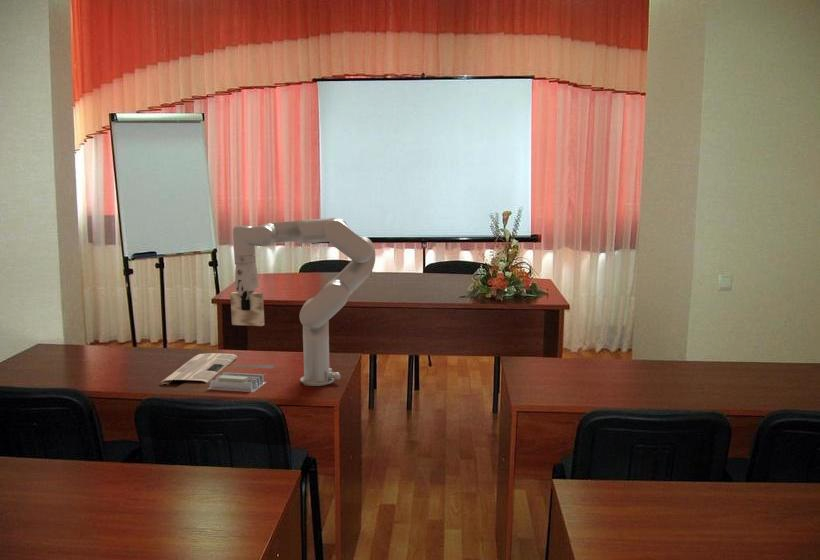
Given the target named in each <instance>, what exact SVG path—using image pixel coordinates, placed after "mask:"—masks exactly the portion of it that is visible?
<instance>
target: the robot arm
mask: <svg viewBox="0 0 820 560" xmlns="http://www.w3.org/2000/svg"><path fill="white" fill-rule="evenodd" d="M232 235H233V236H232V239H233V254H234V255H233V256H234V257H233V259H234V265H235V273H234V274H235V276H234V278H235V281H234V283H235V290H236V292H238V295H239V296H240V299H241V309H242V310H250V299H249V294H248V292H252V293H255V292H254V291H255V290H257V289H258V287H259V278H258V277H259V276H258V270H257V261H256V247H264V248H265V247H269V246H270V245H271V244H275V243H285V242H286V243H288V242H292V243H299V244H307V245H308V244H314V243H315V244H319V243H328V242H329V244H331V245H332V246H333V247H334V248H335V249H337V250H338V251H340V252H341V253H343V254H344V256H346V257H348V258H349V259H350V261H349V263H348V264H347V265H346V266H345V267H344V268H343V269H342V270H341V271H340V272H339V273H338V274H336V276H334V277H333V278H332V279H330V280H329V281H328V282H327V283H326V284H325V285H324V287H323V288H322V289H321V290H320V291H319V292H318V293H317V294H316V295H315V296H314V297H311V298H309V299H307V300H306V301H305V302H304V303H303V305H302V307H301V309H300V311H299V321H300V323H301V325H302V347H303V348H302V349H303V376H301V377H300V378H299V379H300V381H299V382H300V384H302V385H304V386H309V387H322V386H327V385H330V384H333V383H334V382H335V380H340V379H341V374H340V372H339V371H338V372H337V371H336V372H335V371H333V368H331V367H330V343H329V342H330V332H329V330H330V329H329V327H330V321H329V320H331V319H332V318H333V317H334V316H335V315H336V314H337V313H338V312H340V310H341V309H343V307H344V306H345V305H346V304H347V302H348V300H349V297H350V296H351V295H352V294H353V293H354V292H355V291H356V290H357V289H358V288H359V287H360V286H361V285H362V284H363V283H364V282H365V281H366V280H367V279H368V278H369V277H370V275H371V273H372V271H373V269H374V267H375V263H376V250H375V247H374V243H373V241H372V240H371V239H370V238H369V237H367V236H360V235H359V234H357V233H356V232H355V231H354V230H352V229H351V228H350V227H349V226H348V224H347V222H346V221H345V219H343V218H341V217H326V218H313V219H302V220H301V219H299V220H295V221H294V220H293V221H279V222H268V223H262V224H261V225H259V226H252V225H246V224H245V225H237V226H234V227H233V229H232ZM245 293H246V294H245Z"/></svg>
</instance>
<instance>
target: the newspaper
mask: <svg viewBox="0 0 820 560" xmlns="http://www.w3.org/2000/svg"><path fill="white" fill-rule="evenodd" d="M237 358H238V356H237V354H233V353H219V352H218V353H216V352H215V353H214V352H210V353H198V354H197V355H195V356H193V357H191V358H190V359H189V360H188V361H187V362H185V363H184V364H182V365H181V366H180V367H179V368H178V369H176V370H175V371H173V372H172V373H171V374H170V375H168V376H167V377H165V378H164V379H163V380H162V381H160V385H161V386H163V384H167V385H170V384H171V383H170V381H172V382H174V381H194V382H196V381H197V382H204V383H206V384H208V383H210V380H213V379H214V377H216V376H218V375H219V373H220V372H221V371H222V370H223V369H224V368H225V367H229V365H231V364H232V363H233V361H235V360H236V359H237ZM173 380H174V381H173ZM169 383H170V384H169Z"/></svg>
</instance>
